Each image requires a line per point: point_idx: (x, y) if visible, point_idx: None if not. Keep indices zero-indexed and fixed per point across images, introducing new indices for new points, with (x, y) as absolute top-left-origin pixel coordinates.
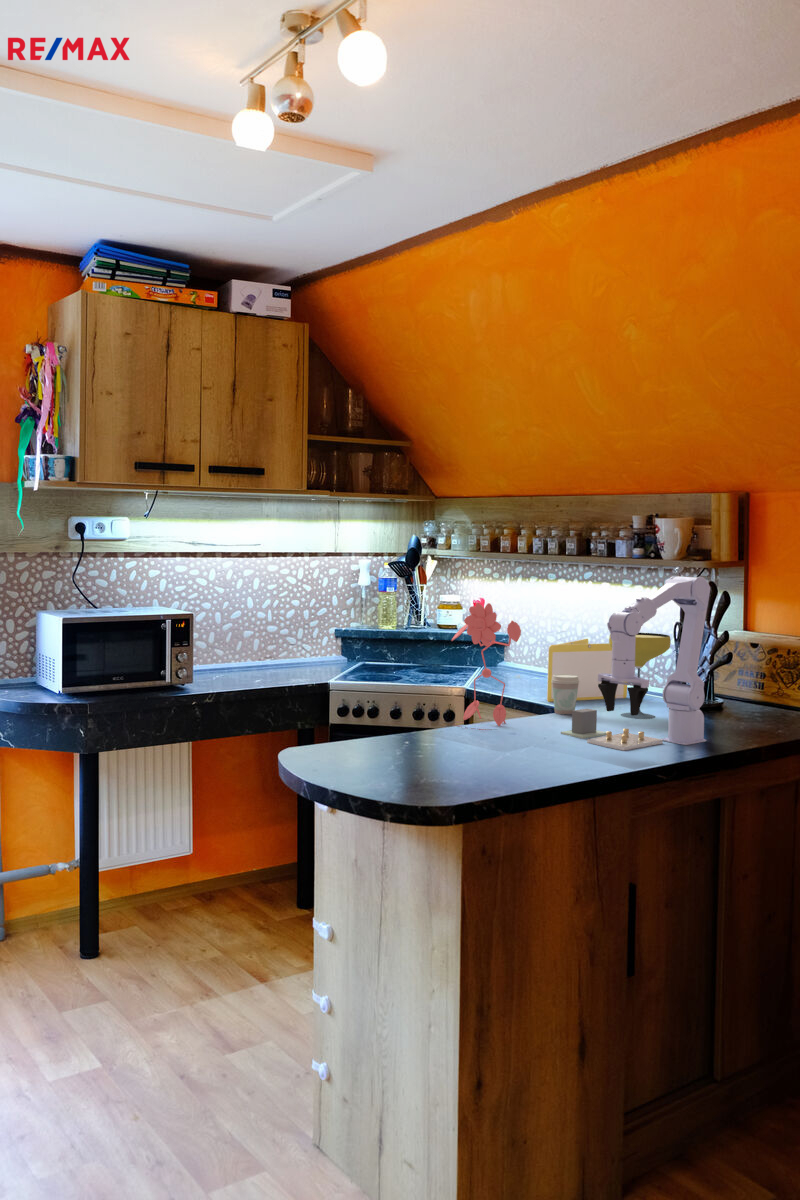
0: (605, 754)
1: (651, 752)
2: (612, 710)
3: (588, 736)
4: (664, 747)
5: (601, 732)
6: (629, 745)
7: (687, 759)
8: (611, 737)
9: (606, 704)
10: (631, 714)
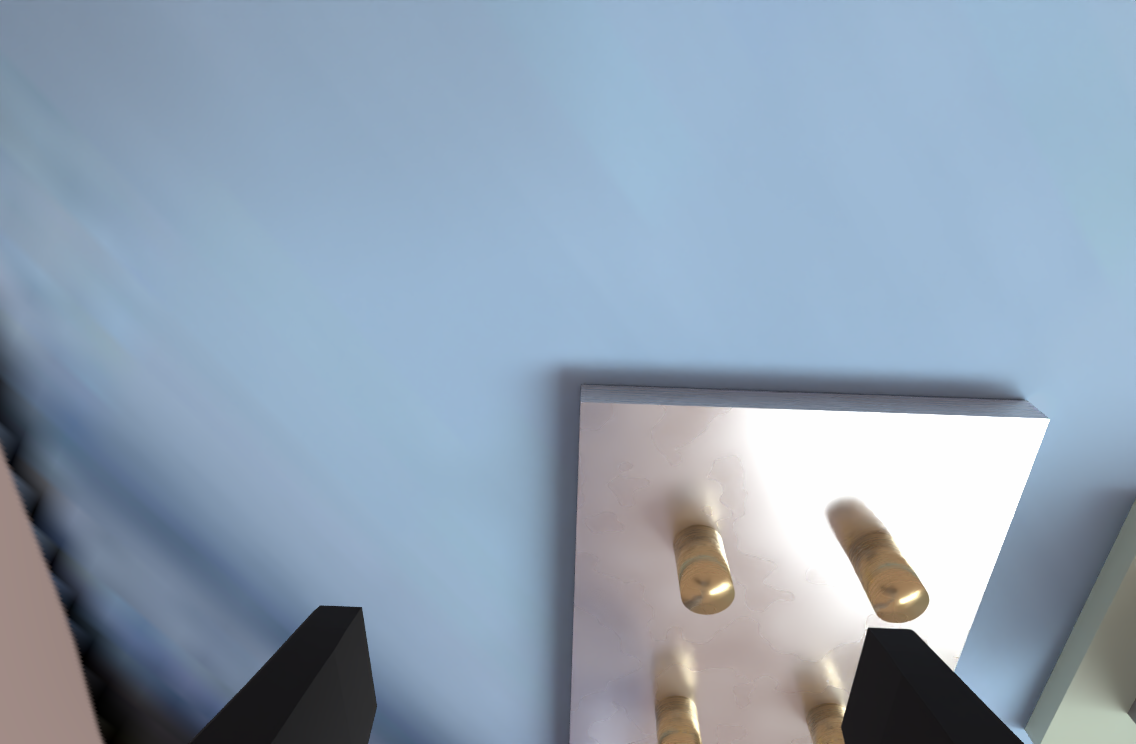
0: (581, 94)
1: (402, 502)
2: (849, 708)
3: (1119, 569)
4: (477, 689)
5: (1080, 725)
6: (586, 482)
7: (75, 503)
8: (854, 569)
9: (971, 722)
10: (340, 615)
